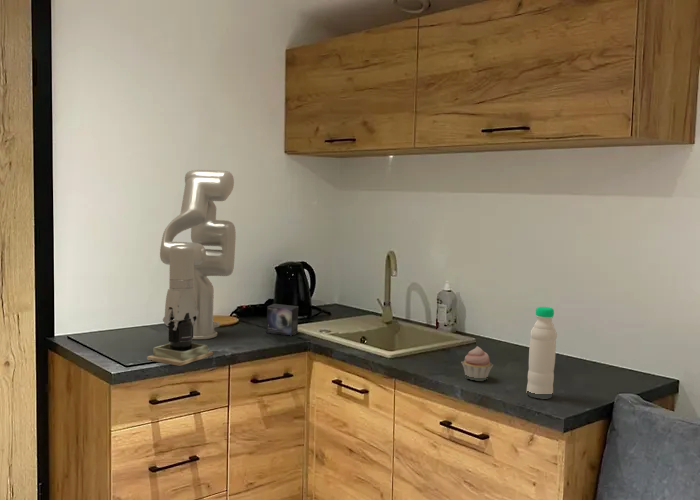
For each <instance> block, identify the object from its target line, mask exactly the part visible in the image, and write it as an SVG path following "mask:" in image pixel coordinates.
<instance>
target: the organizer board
mask: <svg viewBox="0 0 700 500" xmlns="http://www.w3.org/2000/svg"><path fill="white" fill-rule="evenodd" d="M213 354H214V352H213V351H210V350H209V345H208V344H203V343H195V342H192V348H191V350H188V351H175V350H171V349H170V342H169V343H164V344H160V345H158V346H154V347H152V355H148V356H146V359H147V361H151V360H152V362H156V363H157V362H158V363H162V364H169V365H174V366H177V367H181V366H185V365H188V364H190V363H193V362H196V361H199V360H202V359H206V358H208V357H212V356H213Z"/></svg>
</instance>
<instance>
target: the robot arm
mask: <svg viewBox="0 0 700 500" xmlns="http://www.w3.org/2000/svg"><path fill="white" fill-rule="evenodd" d="M234 178H235V177H234V176H233V173H232V172H230V171H227V170H213V169H212V170H210V169H194V170H192V169H191V170H189V171H187V172H186V173H185V176H184V192H183V196H182V202H181V209H180V214H179V215H177V216H176V217H174V218H173V219H172V220H171V221H170V223H168V225H167V226H166V227H165V229H164V231H163V234H162V237H161V243H160V248H159V257H160V261H161V262H162V263H163V264H165V265H167V266H169V278H168V279H169V281H168V282H169V288H168V289H167V293H166V297H165V307H164V317H163V318H162V322H163V323H164V325H165V327H166V329H167V330H168V342H169V343H170V342H173V343H177V342H178V330H176V329H177V326H178V323H179V321H182V320H184V318H185V315H186V313H189V317H190V318H189V320H190V321H191V322H192V340H209V339H213V338H217V336H218V332H217V331H216V330H215V328H219V327H220V326H221V323H220V321H214V295H215V294H214V286H213V284H212V282H211V281H210V279H209V278H208V277H230V276H231V275H232V274H233V271H234V267H235V254H236V240H237V239H236V238H237V236H236V227H235V224H234V223H233V222H232V221H229V220H222V219H217V206H216V204H215V202H225V201H226V200H227V199H228V198H229V197H230V195H231V194H232V192H233V189H234V184H235V179H234ZM189 229H190V239H191V242H188V241H173V240H175V238H176V236H177V235H179V234H180V233H182V232H184V231H187V230H189ZM205 247H220V248H221V249H210V248H205ZM173 322H175V323H174V325H173V324H172V323H173Z"/></svg>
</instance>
